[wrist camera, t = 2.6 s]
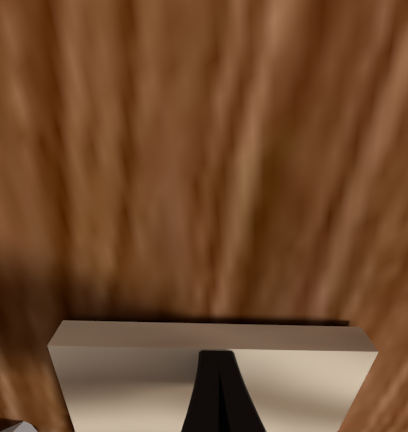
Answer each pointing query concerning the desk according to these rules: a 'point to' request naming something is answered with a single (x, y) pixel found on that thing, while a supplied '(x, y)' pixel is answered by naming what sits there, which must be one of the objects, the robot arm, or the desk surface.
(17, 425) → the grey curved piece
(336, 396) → the board
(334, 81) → the desk surface
